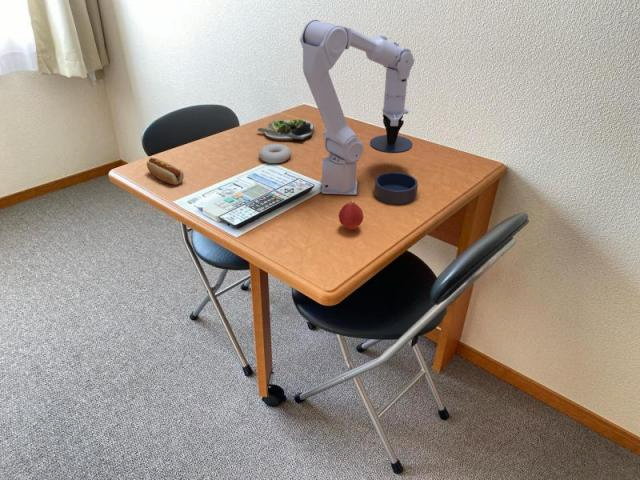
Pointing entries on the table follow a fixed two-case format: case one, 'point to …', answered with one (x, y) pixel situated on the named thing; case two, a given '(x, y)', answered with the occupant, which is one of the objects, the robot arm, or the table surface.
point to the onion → (351, 215)
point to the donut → (275, 153)
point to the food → (165, 171)
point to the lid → (399, 146)
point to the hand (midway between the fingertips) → (391, 141)
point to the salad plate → (289, 130)
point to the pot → (395, 188)
